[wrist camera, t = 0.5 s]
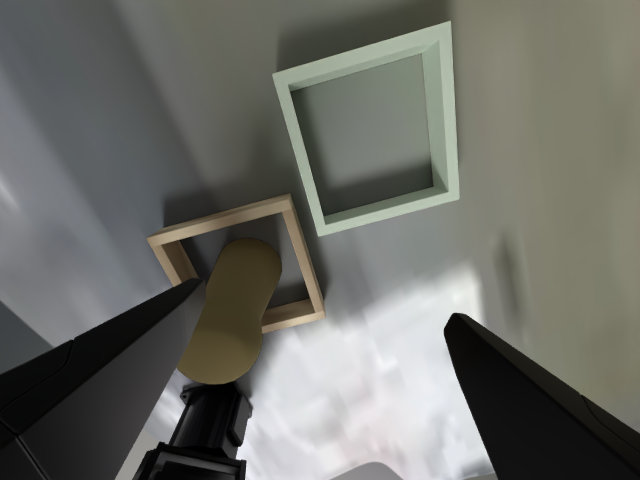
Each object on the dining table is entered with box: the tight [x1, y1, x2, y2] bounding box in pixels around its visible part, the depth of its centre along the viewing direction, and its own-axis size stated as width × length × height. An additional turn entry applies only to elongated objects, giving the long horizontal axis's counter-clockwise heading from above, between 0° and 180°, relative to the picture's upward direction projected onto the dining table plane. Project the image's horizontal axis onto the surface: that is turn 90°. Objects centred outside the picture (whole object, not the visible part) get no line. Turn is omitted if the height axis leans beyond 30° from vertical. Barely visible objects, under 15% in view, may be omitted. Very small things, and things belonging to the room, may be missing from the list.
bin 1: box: [146, 193, 326, 334], centre depth 22 cm, size 12×12×2 cm
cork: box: [176, 238, 282, 384], centre depth 18 cm, size 6×6×11 cm
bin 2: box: [272, 21, 459, 237], centre depth 19 cm, size 12×12×2 cm
